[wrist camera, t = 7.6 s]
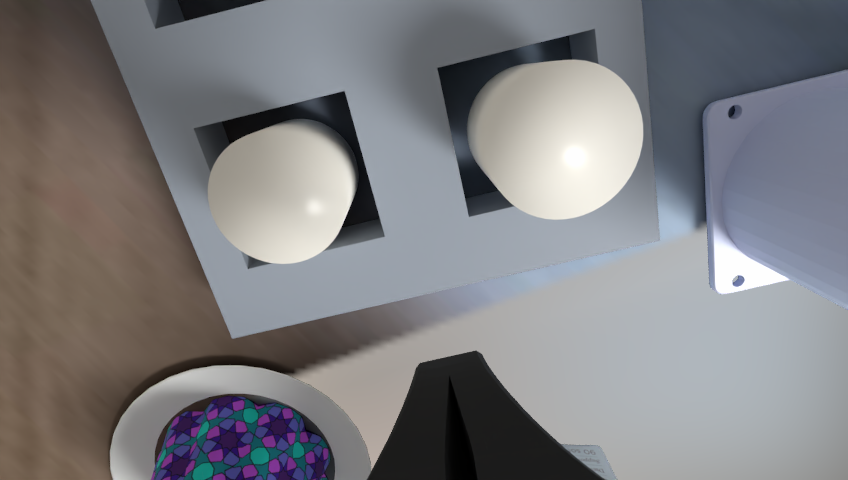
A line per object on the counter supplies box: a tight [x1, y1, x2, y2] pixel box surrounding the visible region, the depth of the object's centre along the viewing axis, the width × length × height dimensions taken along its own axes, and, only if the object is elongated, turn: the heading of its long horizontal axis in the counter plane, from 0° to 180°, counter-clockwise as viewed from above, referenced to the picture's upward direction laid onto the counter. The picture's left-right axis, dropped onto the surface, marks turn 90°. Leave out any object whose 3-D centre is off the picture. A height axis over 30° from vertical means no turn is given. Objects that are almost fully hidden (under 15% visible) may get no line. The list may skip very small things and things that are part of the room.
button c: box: [208, 119, 359, 264], centre depth 16 cm, size 4×4×4 cm
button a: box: [467, 60, 643, 220], centre depth 14 cm, size 4×4×4 cm
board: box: [91, 0, 660, 339], centre depth 16 cm, size 16×18×2 cm
